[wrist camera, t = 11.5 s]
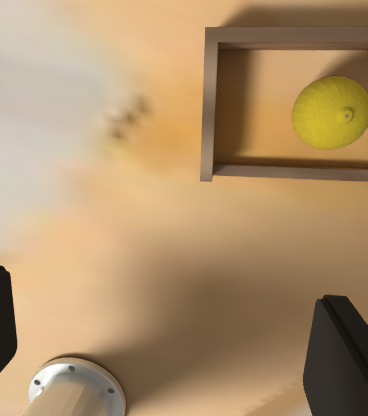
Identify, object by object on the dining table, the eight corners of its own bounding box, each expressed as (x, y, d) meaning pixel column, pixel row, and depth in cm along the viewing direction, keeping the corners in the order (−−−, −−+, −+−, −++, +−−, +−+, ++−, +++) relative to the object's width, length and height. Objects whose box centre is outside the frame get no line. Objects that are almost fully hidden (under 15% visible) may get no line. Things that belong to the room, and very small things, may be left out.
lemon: (282, 85, 30) (302, 79, 22) (347, 74, 29) (392, 64, 21) (286, 147, 31) (306, 161, 24) (348, 138, 30) (390, 150, 23)
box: (419, 181, 31) (447, 191, 27) (202, 172, 33) (200, 181, 29) (453, 37, 27) (490, 25, 23) (207, 37, 29) (205, 27, 25)
